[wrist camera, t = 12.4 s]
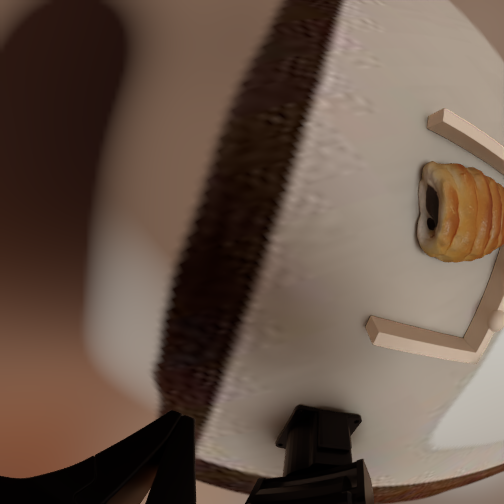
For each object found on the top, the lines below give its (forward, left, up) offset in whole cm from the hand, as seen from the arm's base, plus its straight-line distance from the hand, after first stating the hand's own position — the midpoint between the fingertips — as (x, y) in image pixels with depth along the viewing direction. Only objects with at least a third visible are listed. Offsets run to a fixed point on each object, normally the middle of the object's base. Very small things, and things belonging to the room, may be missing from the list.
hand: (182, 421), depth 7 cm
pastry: (+10, -13, -12) cm, 21 cm away
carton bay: (+8, -14, -12) cm, 20 cm away
